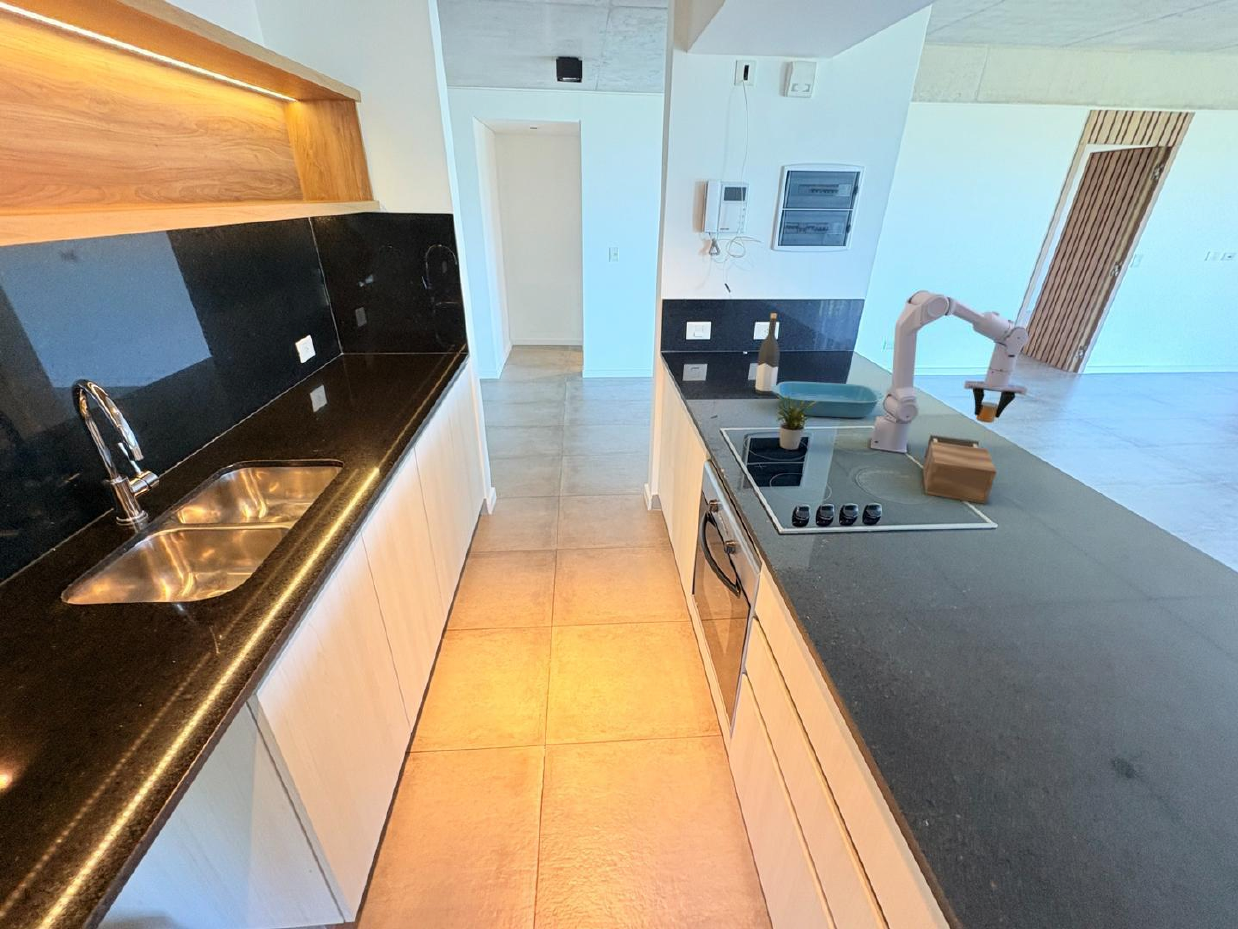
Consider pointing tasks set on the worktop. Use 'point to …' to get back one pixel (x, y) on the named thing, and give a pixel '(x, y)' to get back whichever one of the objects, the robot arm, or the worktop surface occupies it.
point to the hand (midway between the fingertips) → (986, 415)
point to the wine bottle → (768, 361)
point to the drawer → (951, 441)
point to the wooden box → (958, 472)
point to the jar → (987, 412)
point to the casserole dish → (829, 398)
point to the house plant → (792, 424)
